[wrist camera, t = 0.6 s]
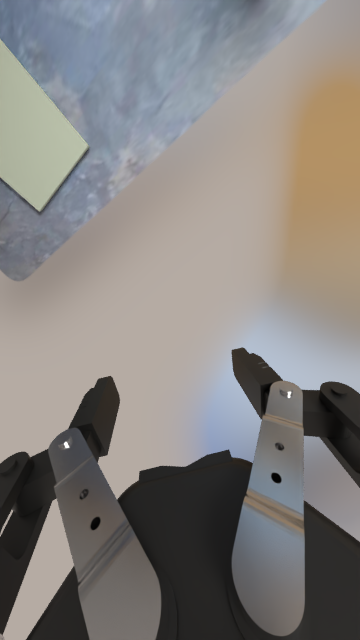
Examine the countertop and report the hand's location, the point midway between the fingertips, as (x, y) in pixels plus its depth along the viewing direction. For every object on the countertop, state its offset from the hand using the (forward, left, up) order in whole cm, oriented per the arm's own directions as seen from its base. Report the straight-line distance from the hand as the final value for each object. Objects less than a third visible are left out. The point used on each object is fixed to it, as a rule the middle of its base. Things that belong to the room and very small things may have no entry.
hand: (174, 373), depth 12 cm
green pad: (-24, -3, -28) cm, 36 cm away
